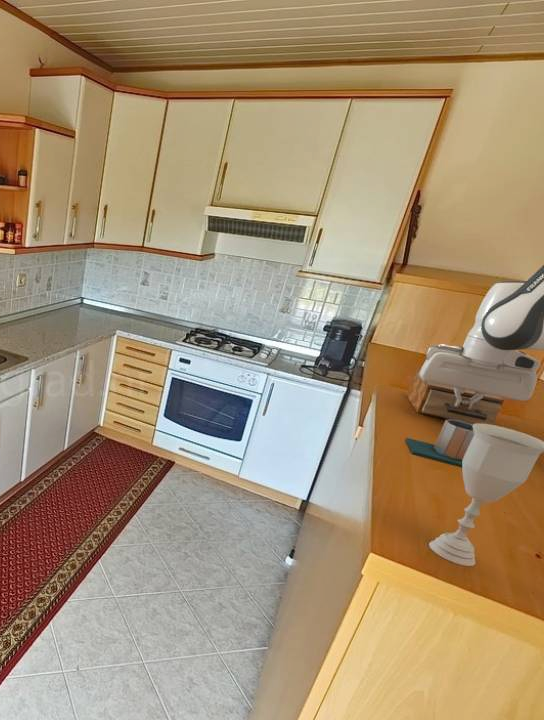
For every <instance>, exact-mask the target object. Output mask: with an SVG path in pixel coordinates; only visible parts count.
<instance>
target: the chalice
mask: <svg viewBox="0 0 544 720" xmlns="http://www.w3.org/2000/svg"><path fill="white" fill-rule="evenodd" d="M473 431H474V436H473V438H472V440H471V443H470V445H469V447H468V449H467V451H466V453H465V455H464V458H463V460H462V467H461V468H462V470H461V471H462V472H461V473H462V474H461V475H462V479H463V485H464V490H465V493H466V494H467V495H468V496H469V497H471V503H470V504H469V505H468V506H467V507H465V508H464V509H463V510H464V516H463V517H462V518H460V519H457V522H458V529H457V530H456V531H453V532H445V533H444V532H443V533H441V534H440V535H439V536H437V537H435V539H434V540H431V541H429V543H428V546H429V548H430V549H431V551H432V552H434V553H435V554H437V555H438V556H440V557H441V558H443V559H445V560H447V561H449V562H452V563H454V564H456V565H460V566H466V567H473V566H476V559H475V557H476V553H475V547H474V545H473V543H472V542H471V541H470V540H469V538H468V537H467V535H468V532H470V530H471V529H474V528H476V526H475V523H474V520H475V519H476V518H477V517H479V516H481V513H480V511H481V506H482V505H483V504H484V503H495V502H496V501H499V500H500V499H502V498H503V497H505V496H507V495H509V494H510V493H512V492H513V491H515V490H517V489H518V488H519V487H520V486H521V485H523V484H524V483H525V482H526V481H527V480H528V478H529V475H530V474H531V472H532V470H533V468H534V466H535V464H536V463H537V460H538V458H539V456H540V455H541V454H543V453H544V441H543V440H542V439H539V438H537V437H535V436H532V435H530V434H528V433H524V432H521V431H518V430H516V429H515V430H514V429H512V428H507V427H505V426H499V425H495V424H493V425H489V424H479V423H477V424H473Z"/></svg>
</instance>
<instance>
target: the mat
mask: <svg viewBox="0 0 544 720" xmlns="http://www.w3.org/2000/svg"><path fill="white" fill-rule="evenodd" d="M405 442H406V444H407V446H408V448H409V450H410V452H411V454H412V455H415V456H418V457H422V458H426V459H430V460H434V461H437V462H441V463H445V464H450V465H453V466H457V467H461V468H462V461H459V460H454V459H451V458H448V457H445V456H443V455H441V454H439V453H438V452H436V450H435V448H434V446H435V444H434V443H429V442H425V441H421V440H417V439H413V438H409V437H406V438H405Z"/></svg>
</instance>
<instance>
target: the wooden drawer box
mask: <svg viewBox="0 0 544 720" xmlns="http://www.w3.org/2000/svg"><path fill="white" fill-rule="evenodd" d="M461 398H462V399H464V400H469V399H470V398H472V397H471V396H466V395H461ZM455 400H456V396H455V393H452V392H447V391H442V390H437V389H433V388H431V390H430V392H429V395H428V397H427V399H426V402H425V404H424V407H423V409H422V412H424V413H429V414H433V415H437V416H442V417H446V418H450V419H455V420H459V421H463V422H468V423H472V424H477V423H479V424H489V425H494V423H495V421H496V419H497V417H498V414H499V412H500V410H501V408H502V406H503V404H502V405H501V404H498V403H494V402H493V401H489V400H485V399H480V400H479V401H477V402H475V403H473V405H472V408H471V409H465V408H461V407H456V406H455V405H454V403H455Z"/></svg>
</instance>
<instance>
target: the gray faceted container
mask: <svg viewBox="0 0 544 720" xmlns="http://www.w3.org/2000/svg"><path fill="white" fill-rule="evenodd" d="M473 436H474V431H473V425H472V424H470V423H466V422H463V421H458V420H452V419H449V420H447V419H444V423H443V425H442V427H441V429H440V432H439V434H438V436H437V439H436V440H435V444H434V445H435V446H434V448H435V450H436V452H438V453H439V454H441V455H443V456H445V457H448V458H451V459H454V460H459V461H462V460H463V458H464V455H465V453H466V451H467V449H468V447H469V445H470V443H471V440H472V438H473Z"/></svg>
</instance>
